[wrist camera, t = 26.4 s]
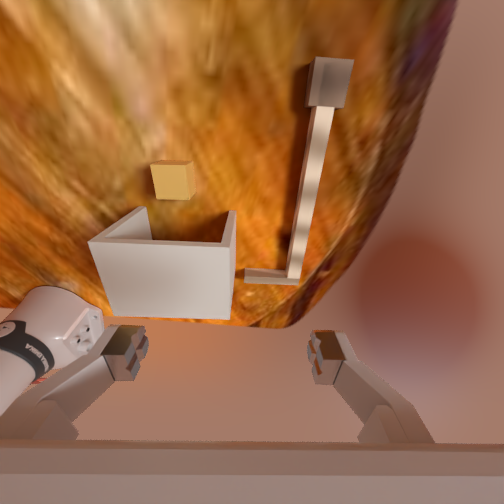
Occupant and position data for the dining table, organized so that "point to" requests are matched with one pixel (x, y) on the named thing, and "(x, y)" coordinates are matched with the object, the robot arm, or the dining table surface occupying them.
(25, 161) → the dining table surface
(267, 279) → the pale grey hook
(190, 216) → the dining table surface
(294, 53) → the dining table surface
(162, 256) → the cubby
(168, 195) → the ochre cube
